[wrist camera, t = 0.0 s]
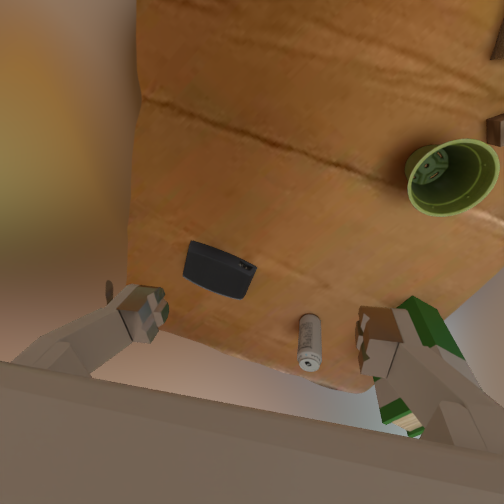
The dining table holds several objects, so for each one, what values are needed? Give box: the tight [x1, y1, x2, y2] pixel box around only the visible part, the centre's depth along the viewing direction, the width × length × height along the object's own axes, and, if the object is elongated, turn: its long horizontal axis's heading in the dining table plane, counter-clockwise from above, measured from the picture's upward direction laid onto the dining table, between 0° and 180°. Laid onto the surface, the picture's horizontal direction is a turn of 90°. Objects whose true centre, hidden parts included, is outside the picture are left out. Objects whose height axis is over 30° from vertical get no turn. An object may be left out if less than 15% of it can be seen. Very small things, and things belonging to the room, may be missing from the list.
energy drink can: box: [297, 314, 322, 372], centre depth 69 cm, size 6×6×15 cm
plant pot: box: [405, 139, 500, 217], centre depth 44 cm, size 12×12×11 cm
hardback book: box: [373, 296, 483, 438], centre depth 59 cm, size 18×7×24 cm, turn 153°
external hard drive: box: [183, 241, 257, 300], centre depth 71 cm, size 13×19×4 cm
